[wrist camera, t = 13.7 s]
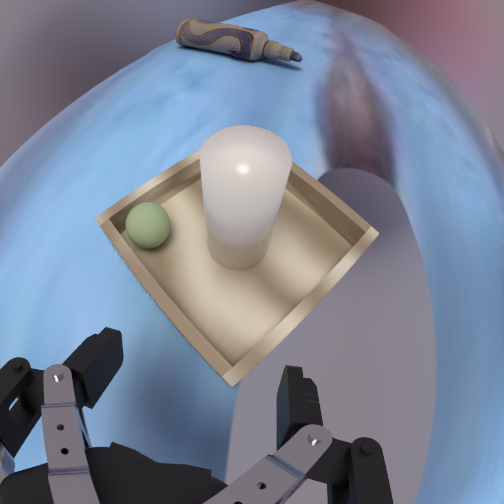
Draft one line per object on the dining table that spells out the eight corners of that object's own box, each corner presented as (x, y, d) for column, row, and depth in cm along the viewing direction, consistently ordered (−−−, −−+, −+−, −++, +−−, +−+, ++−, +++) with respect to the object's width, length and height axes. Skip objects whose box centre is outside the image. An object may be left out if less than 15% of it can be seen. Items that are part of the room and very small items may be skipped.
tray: (241, 149, 32) (243, 126, 29) (364, 251, 27) (379, 233, 24) (107, 237, 26) (95, 218, 23) (231, 387, 21) (232, 387, 18)
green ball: (157, 211, 27) (149, 185, 23) (182, 238, 26) (176, 213, 22) (124, 235, 25) (111, 211, 22) (147, 264, 24) (135, 242, 21)
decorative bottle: (173, 50, 46) (171, 23, 40) (195, 40, 50) (195, 15, 44) (290, 80, 42) (297, 47, 36) (305, 67, 46) (312, 38, 40)
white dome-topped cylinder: (238, 207, 28) (247, 115, 18) (279, 244, 26) (310, 159, 16) (195, 240, 26) (181, 152, 16) (236, 282, 24) (245, 207, 14)
